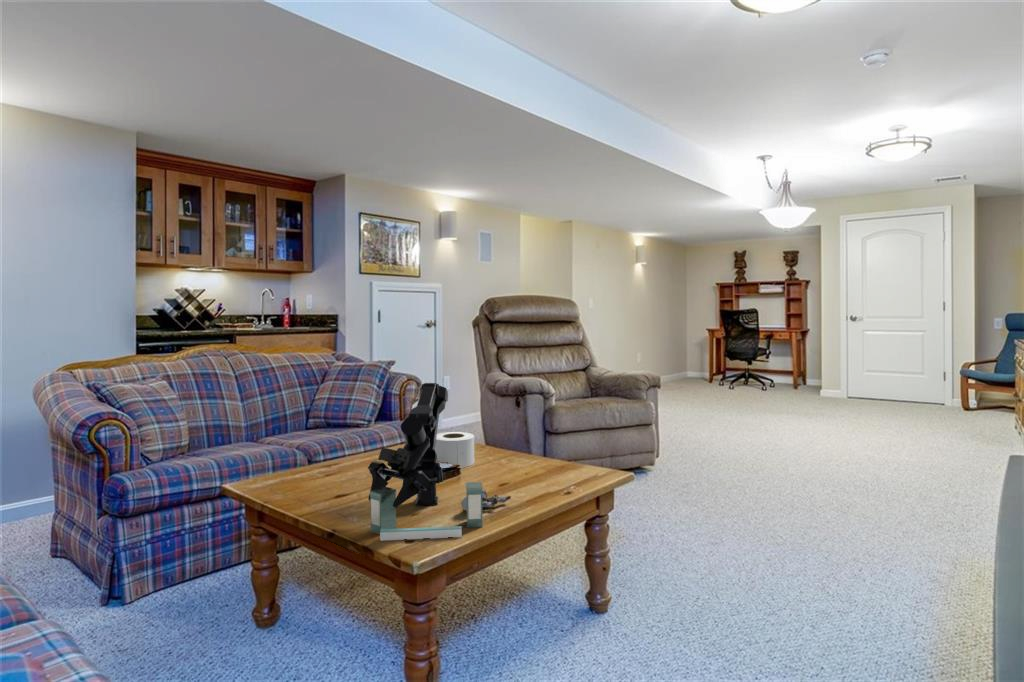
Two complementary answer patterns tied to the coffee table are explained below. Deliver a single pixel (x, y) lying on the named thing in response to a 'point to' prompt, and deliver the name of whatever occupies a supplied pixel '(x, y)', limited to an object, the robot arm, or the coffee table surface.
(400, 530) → the rail
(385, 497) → the tea tin
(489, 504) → the toy
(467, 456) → the object
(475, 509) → the twin tin
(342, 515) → the coffee table surface
